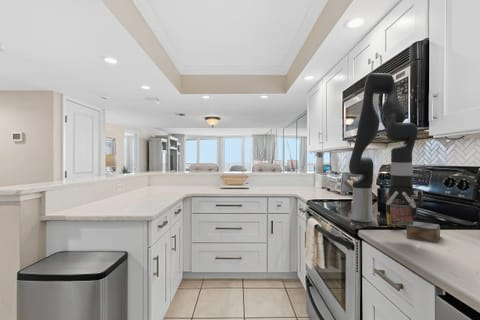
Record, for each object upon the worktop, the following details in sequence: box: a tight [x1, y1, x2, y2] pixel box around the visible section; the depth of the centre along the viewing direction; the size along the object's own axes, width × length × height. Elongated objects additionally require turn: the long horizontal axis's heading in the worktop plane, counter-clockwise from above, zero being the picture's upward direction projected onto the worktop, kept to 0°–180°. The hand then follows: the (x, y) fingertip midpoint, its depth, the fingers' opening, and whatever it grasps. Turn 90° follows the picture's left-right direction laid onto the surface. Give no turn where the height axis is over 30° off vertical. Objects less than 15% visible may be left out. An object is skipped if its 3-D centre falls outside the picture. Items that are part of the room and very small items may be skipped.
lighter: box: [390, 198, 414, 226], centre depth 105 cm, size 8×3×10 cm, turn 74°
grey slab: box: [405, 220, 441, 243], centre depth 110 cm, size 10×10×5 cm
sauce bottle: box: [385, 184, 403, 228], centre depth 126 cm, size 6×6×20 cm
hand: (401, 215), depth 105 cm, fingers closed on lighter, 7 cm apart
